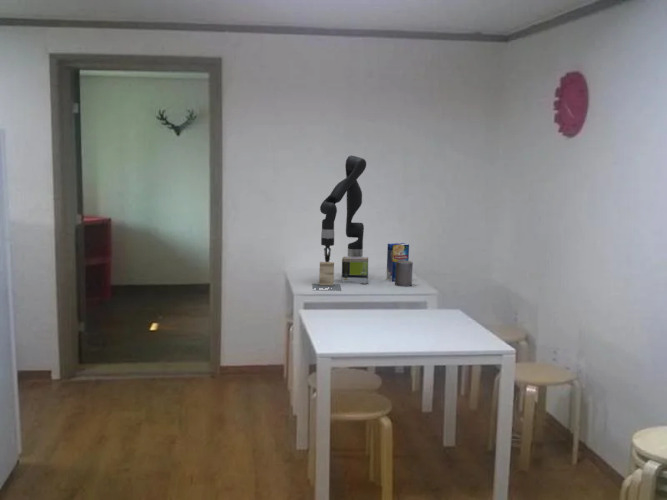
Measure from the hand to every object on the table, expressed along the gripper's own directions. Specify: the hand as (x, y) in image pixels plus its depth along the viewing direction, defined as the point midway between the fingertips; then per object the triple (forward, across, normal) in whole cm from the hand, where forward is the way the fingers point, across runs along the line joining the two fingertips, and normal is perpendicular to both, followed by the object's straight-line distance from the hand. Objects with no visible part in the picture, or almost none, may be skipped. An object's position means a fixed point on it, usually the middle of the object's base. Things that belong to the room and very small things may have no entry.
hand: (327, 266), depth 418 cm
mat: (+10, +14, -1) cm, 17 cm away
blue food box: (+10, -13, +43) cm, 46 cm away
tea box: (+10, -4, +17) cm, 20 cm away
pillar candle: (+10, +2, +45) cm, 46 cm away
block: (+9, +8, 0) cm, 13 cm away
